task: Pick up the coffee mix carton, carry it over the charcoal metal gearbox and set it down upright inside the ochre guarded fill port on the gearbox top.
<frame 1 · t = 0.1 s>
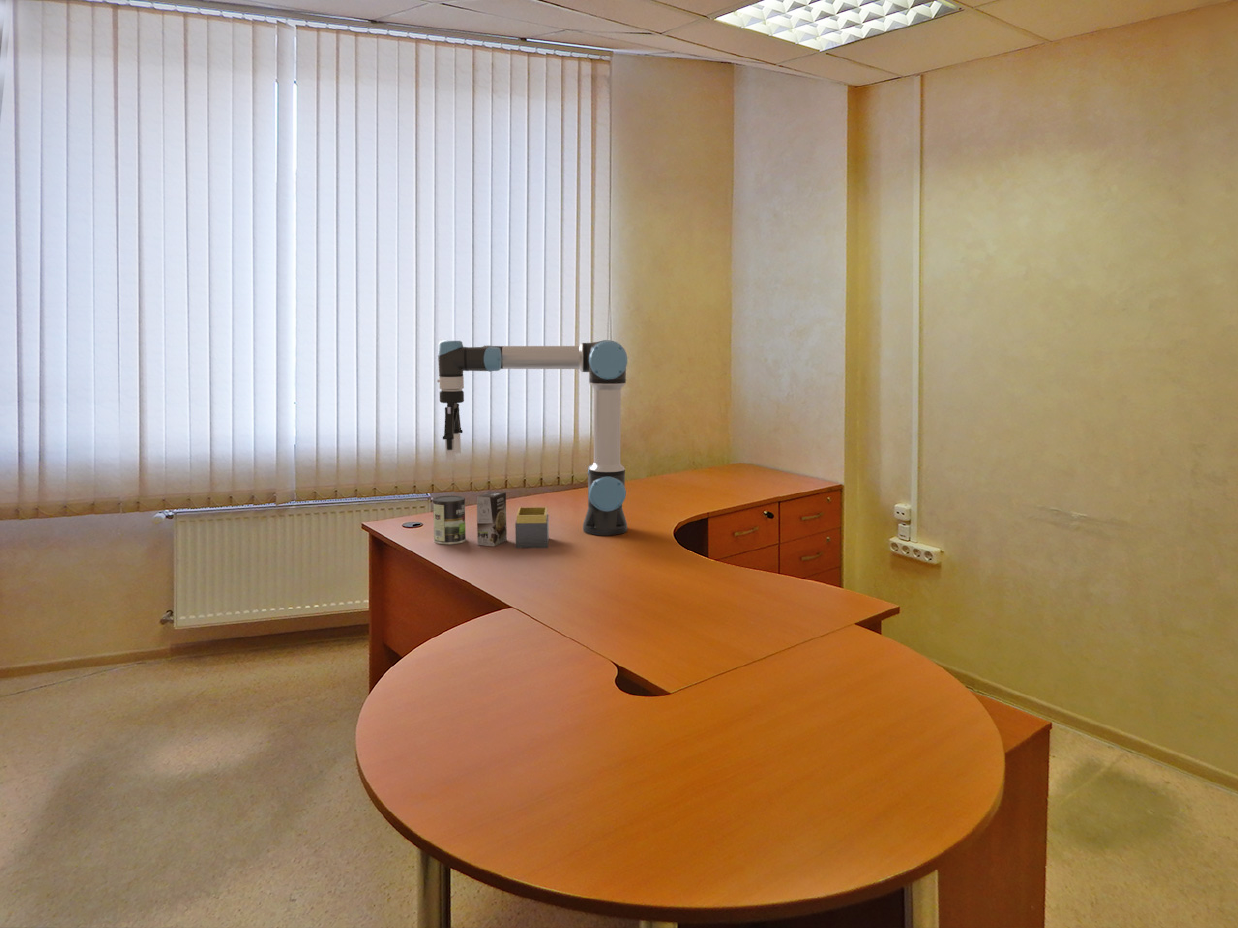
hand: (453, 456, 269), 28 cm above the table, fingers open, 13 cm apart
gearbox: (532, 542, 273), on the table
coffee box: (492, 543, 273), on the table
coffee can: (450, 541, 275), on the table
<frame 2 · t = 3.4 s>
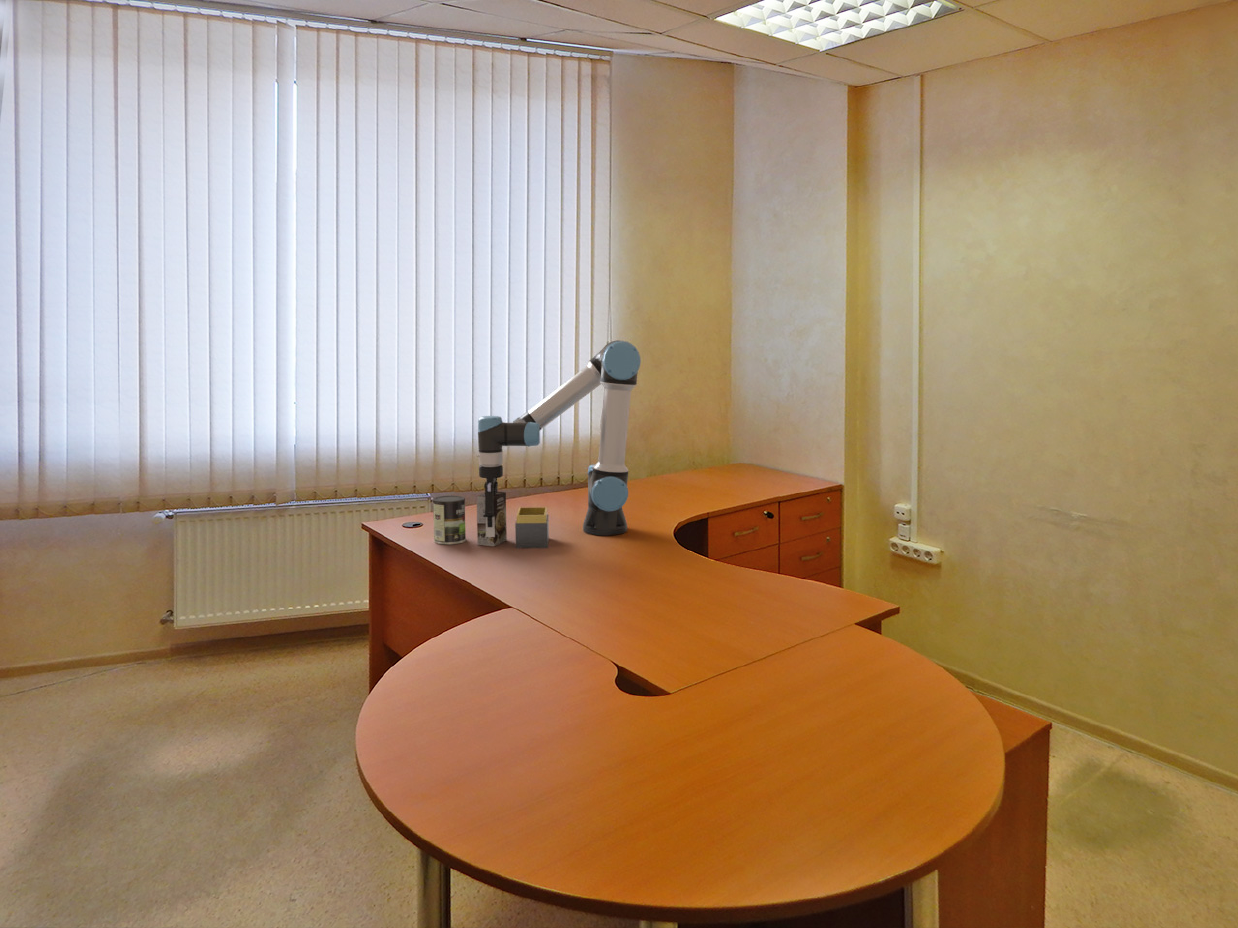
hand: (492, 532, 272), 3 cm above the table, fingers closed on coffee box, 10 cm apart
coffee box: (492, 543, 273), on the table, touching gripper
everything else where it was.
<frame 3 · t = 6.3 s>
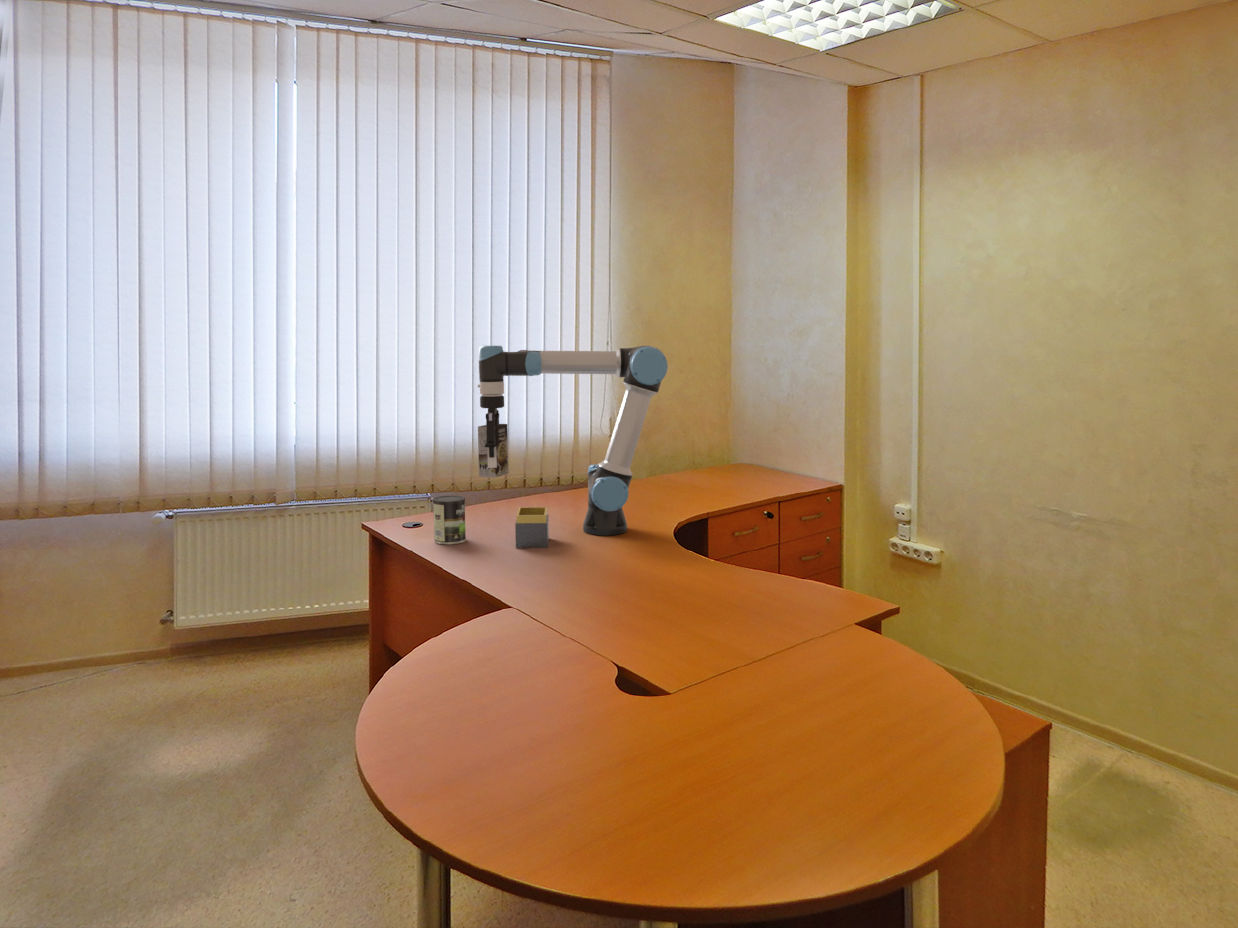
hand: (494, 464, 269), 26 cm above the table, fingers closed on coffee box, 10 cm apart
coffee box: (494, 475, 269), point 22 cm above the table, touching gripper
everything else where it was.
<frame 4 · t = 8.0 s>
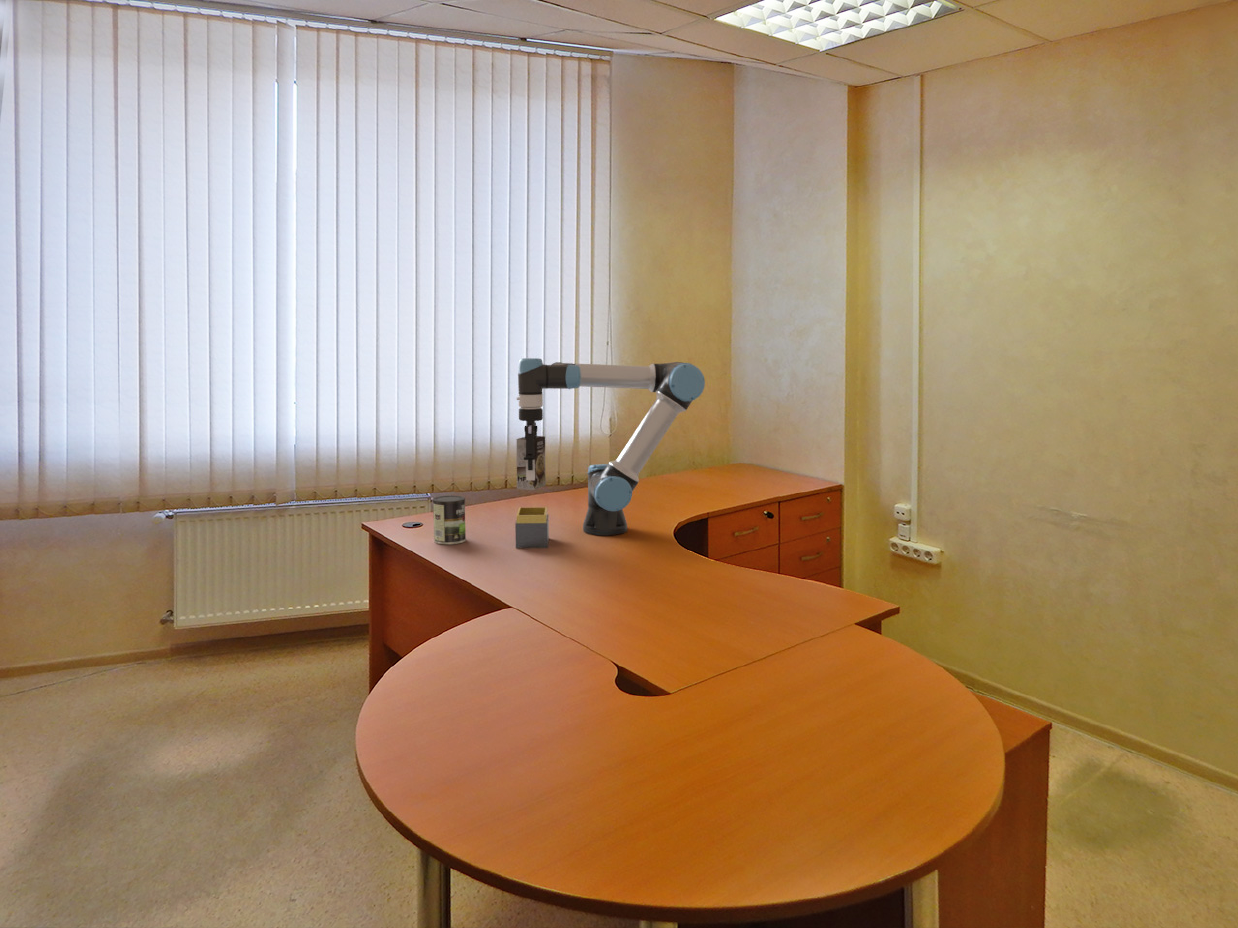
hand: (531, 477, 269), 22 cm above the table, fingers closed on coffee box, 10 cm apart
coffee box: (531, 488, 270), point 18 cm above the table, touching gripper
everything else where it was.
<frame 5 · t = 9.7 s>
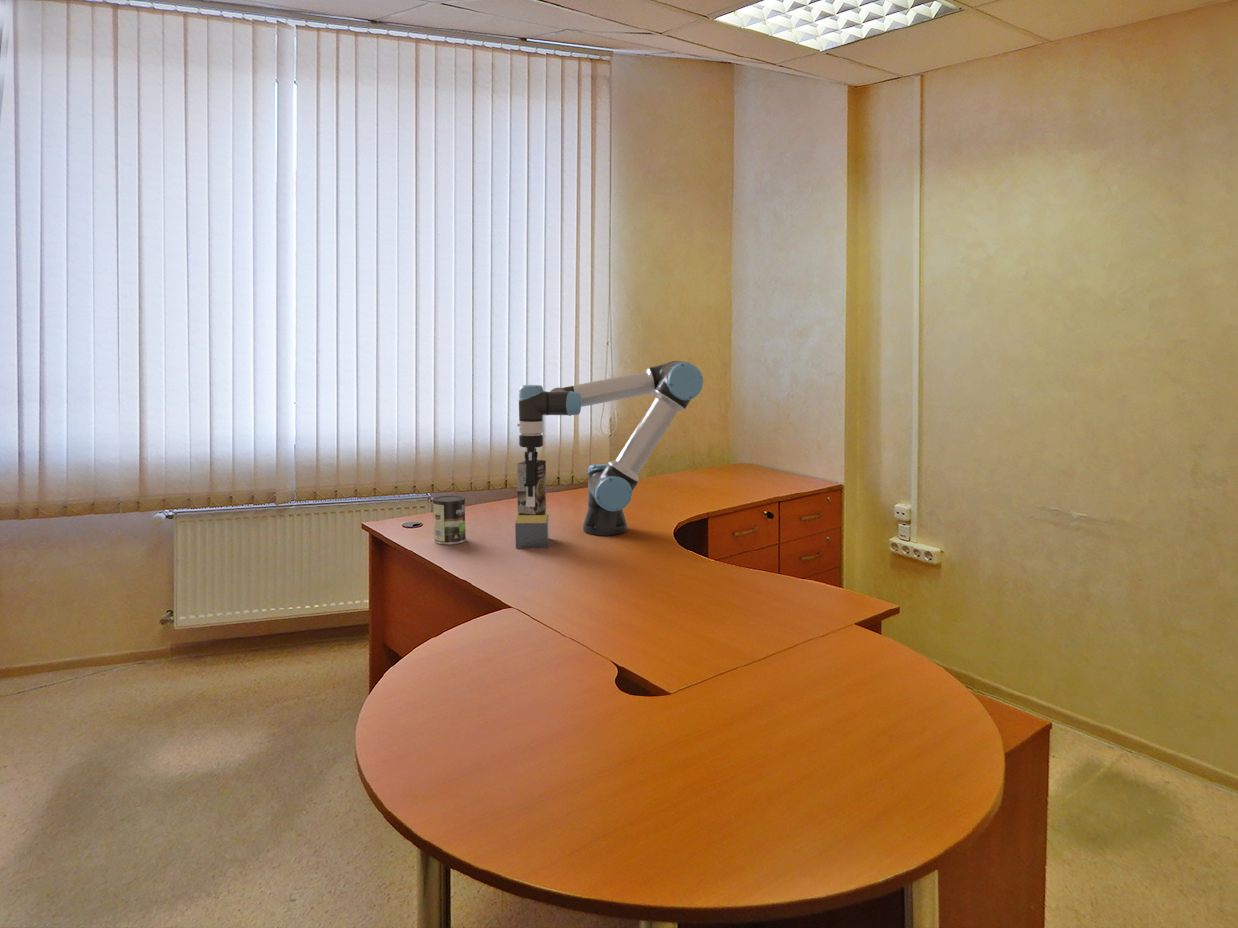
hand: (531, 502, 270), 13 cm above the table, fingers closed on coffee box, 10 cm apart
coffee box: (532, 511, 271), point 10 cm above the table, touching gearbox, gripper
everything else where it was.
when the fingers open (13 cm above the table, at t = 10.0 s): coffee box stays where it is, resting on gearbox.
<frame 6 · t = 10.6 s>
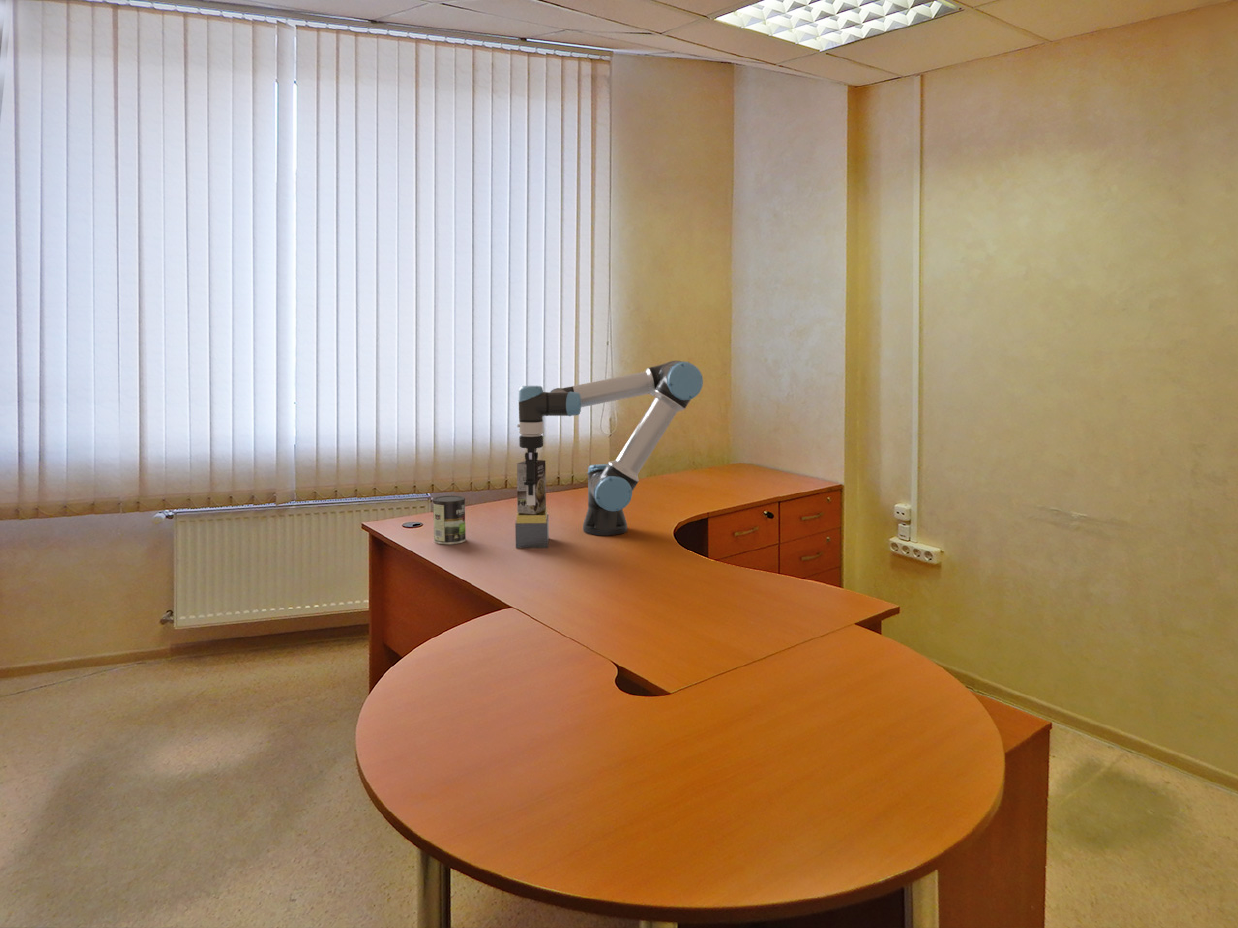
hand: (532, 500, 270), 14 cm above the table, fingers open, 13 cm apart
coffee box: (532, 511, 271), point 10 cm above the table, touching gearbox
everything else where it was.
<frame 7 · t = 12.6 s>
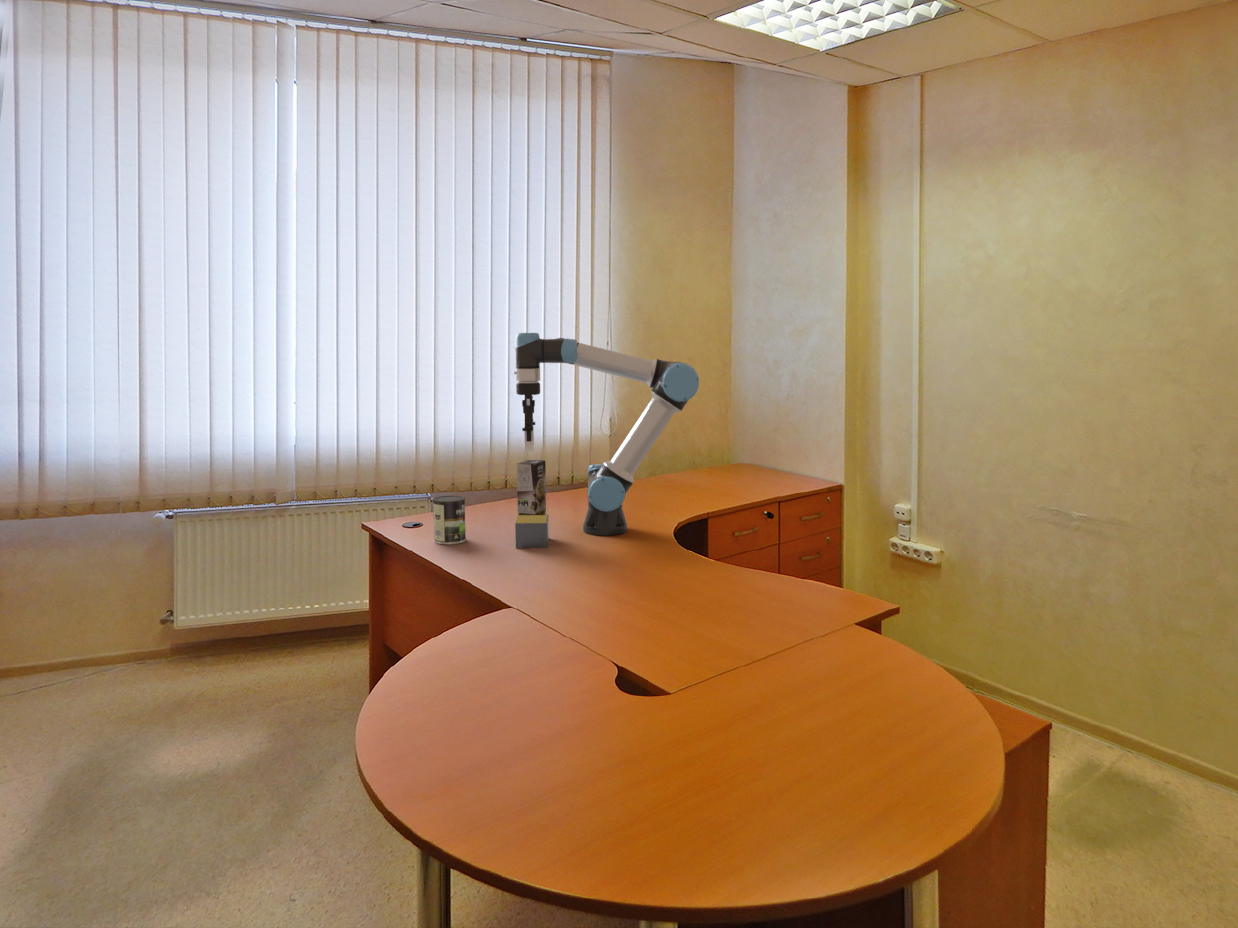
hand: (529, 448, 271), 30 cm above the table, fingers open, 13 cm apart
nothing on the table moved.
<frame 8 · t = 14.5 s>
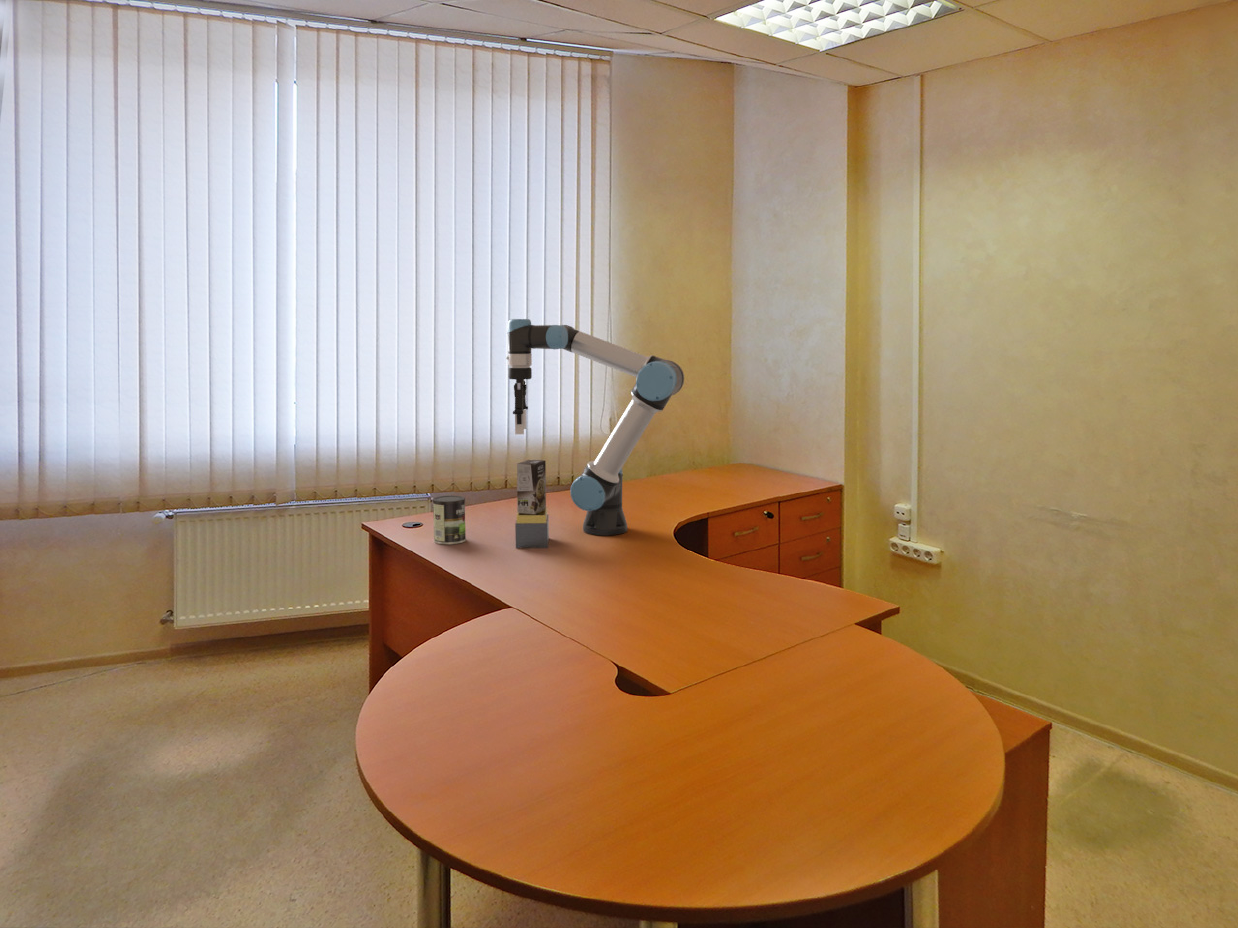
hand: (520, 431, 279), 35 cm above the table, fingers open, 13 cm apart
nothing on the table moved.
at the end: coffee box 0.1 cm off-centre on the gearbox, point 10.3 cm above the gearbox's base; coffee box tilted 0°; the gripper is holding nothing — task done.
